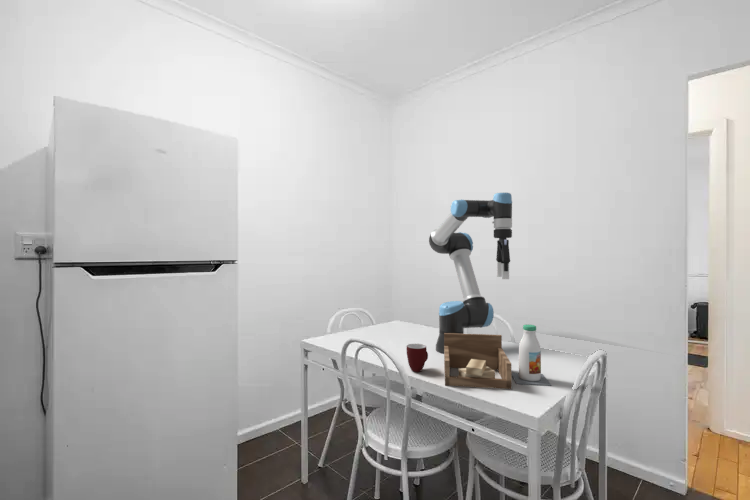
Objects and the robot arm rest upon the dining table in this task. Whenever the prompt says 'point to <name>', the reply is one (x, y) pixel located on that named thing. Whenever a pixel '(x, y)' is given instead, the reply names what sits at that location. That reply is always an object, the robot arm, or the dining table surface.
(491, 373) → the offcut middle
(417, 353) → the mug
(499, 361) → the rack
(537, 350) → the milk bottle
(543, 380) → the mat
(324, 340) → the dining table surface
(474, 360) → the offcut top
